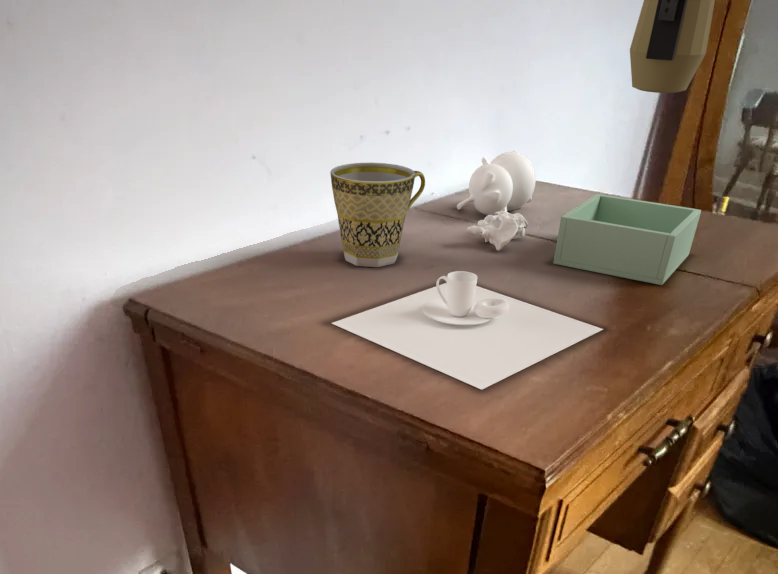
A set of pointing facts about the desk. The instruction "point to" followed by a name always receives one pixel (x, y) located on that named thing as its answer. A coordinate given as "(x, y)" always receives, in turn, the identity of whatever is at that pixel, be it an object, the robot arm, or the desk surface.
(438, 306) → the teacup and saucer
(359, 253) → the ceramic cup
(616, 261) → the bin
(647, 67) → the squeeze bottle
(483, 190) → the cat figurine
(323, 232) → the desk surface
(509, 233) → the anatomical pelvis
